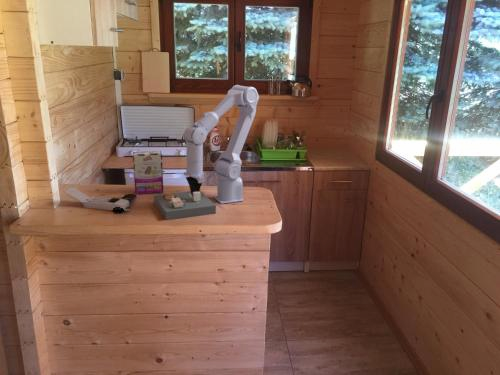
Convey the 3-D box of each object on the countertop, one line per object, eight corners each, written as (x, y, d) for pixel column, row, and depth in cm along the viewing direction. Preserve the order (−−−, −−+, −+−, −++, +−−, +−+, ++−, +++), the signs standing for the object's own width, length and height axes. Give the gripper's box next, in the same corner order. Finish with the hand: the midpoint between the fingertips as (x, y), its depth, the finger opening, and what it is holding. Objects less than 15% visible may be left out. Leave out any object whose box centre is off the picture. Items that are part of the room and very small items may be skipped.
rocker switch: (179, 199, 150) (179, 196, 149) (183, 206, 146) (183, 203, 145) (170, 200, 148) (170, 197, 148) (174, 207, 144) (174, 204, 144)
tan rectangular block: (199, 199, 154) (199, 191, 153) (200, 200, 152) (200, 192, 151) (192, 199, 153) (192, 192, 152) (194, 201, 151) (194, 193, 150)
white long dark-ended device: (71, 185, 156) (134, 192, 151) (73, 200, 158) (135, 207, 153) (61, 191, 150) (126, 197, 146) (63, 206, 152) (127, 213, 148)
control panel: (199, 197, 166) (199, 185, 164) (215, 213, 150) (215, 200, 149) (153, 202, 158) (153, 190, 157) (166, 220, 143) (165, 206, 141)
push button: (173, 201, 159) (173, 193, 158) (175, 204, 156) (175, 196, 155) (163, 202, 157) (163, 194, 156) (166, 205, 154) (166, 197, 153)
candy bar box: (162, 189, 173) (161, 150, 168) (163, 193, 169) (162, 153, 164) (134, 190, 170) (132, 151, 165) (134, 194, 166) (132, 154, 161)
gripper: (178, 156, 154) (178, 191, 159) (190, 166, 142) (190, 204, 146) (196, 155, 157) (196, 189, 161) (209, 164, 145) (209, 201, 149)
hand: (194, 196), depth 154 cm, fingers closed
